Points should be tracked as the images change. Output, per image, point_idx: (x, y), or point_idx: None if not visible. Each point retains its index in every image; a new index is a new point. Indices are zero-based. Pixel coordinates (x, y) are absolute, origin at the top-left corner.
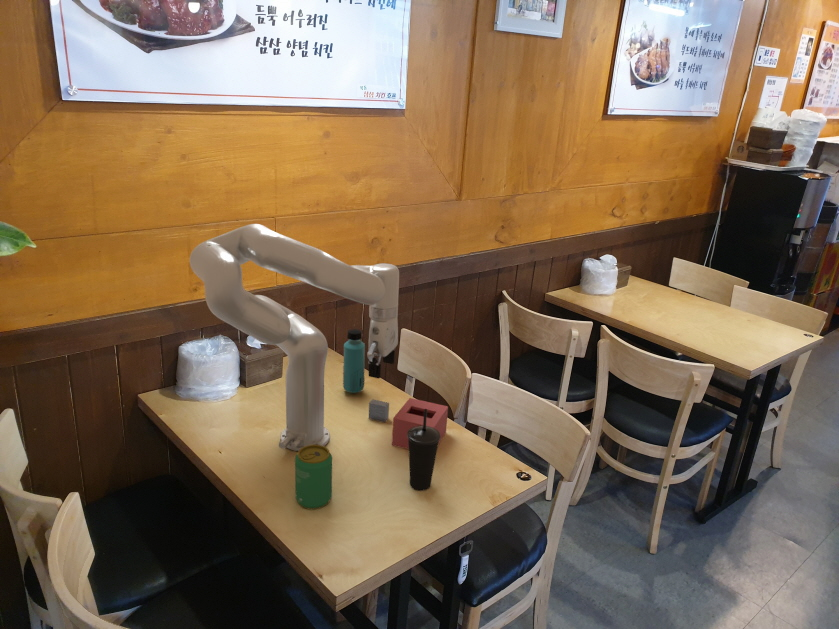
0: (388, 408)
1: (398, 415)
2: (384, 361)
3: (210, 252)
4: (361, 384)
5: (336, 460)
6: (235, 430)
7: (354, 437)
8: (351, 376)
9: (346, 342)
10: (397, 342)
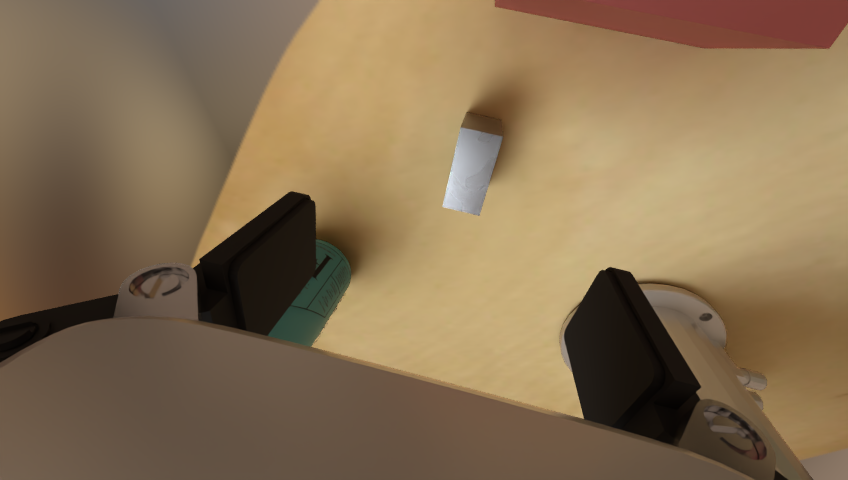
0: (468, 122)
1: (793, 13)
2: (311, 266)
3: None
4: (318, 256)
5: (795, 243)
6: None
7: (626, 211)
8: (326, 309)
9: None
10: (59, 355)
